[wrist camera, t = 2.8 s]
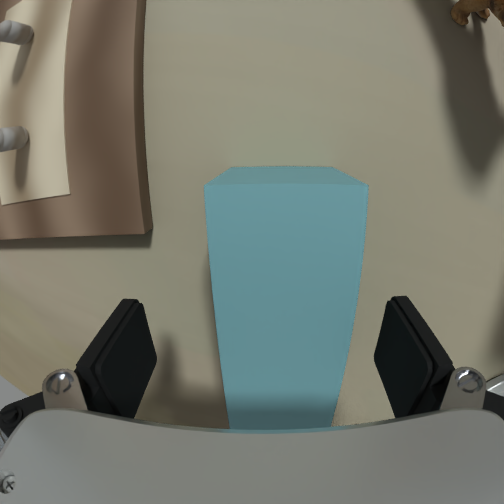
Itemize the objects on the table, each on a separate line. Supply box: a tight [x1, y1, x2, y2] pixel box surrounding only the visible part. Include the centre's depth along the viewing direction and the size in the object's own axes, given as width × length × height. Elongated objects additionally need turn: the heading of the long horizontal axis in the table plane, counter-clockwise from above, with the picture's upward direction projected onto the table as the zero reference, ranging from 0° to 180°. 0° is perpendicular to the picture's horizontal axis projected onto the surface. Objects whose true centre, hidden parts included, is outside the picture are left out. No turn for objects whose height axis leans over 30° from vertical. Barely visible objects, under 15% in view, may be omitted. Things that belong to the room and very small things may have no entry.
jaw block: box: [204, 166, 368, 430], centre depth 14 cm, size 5×12×6 cm, turn 2°
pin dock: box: [0, 0, 153, 240], centre depth 11 cm, size 16×20×4 cm
